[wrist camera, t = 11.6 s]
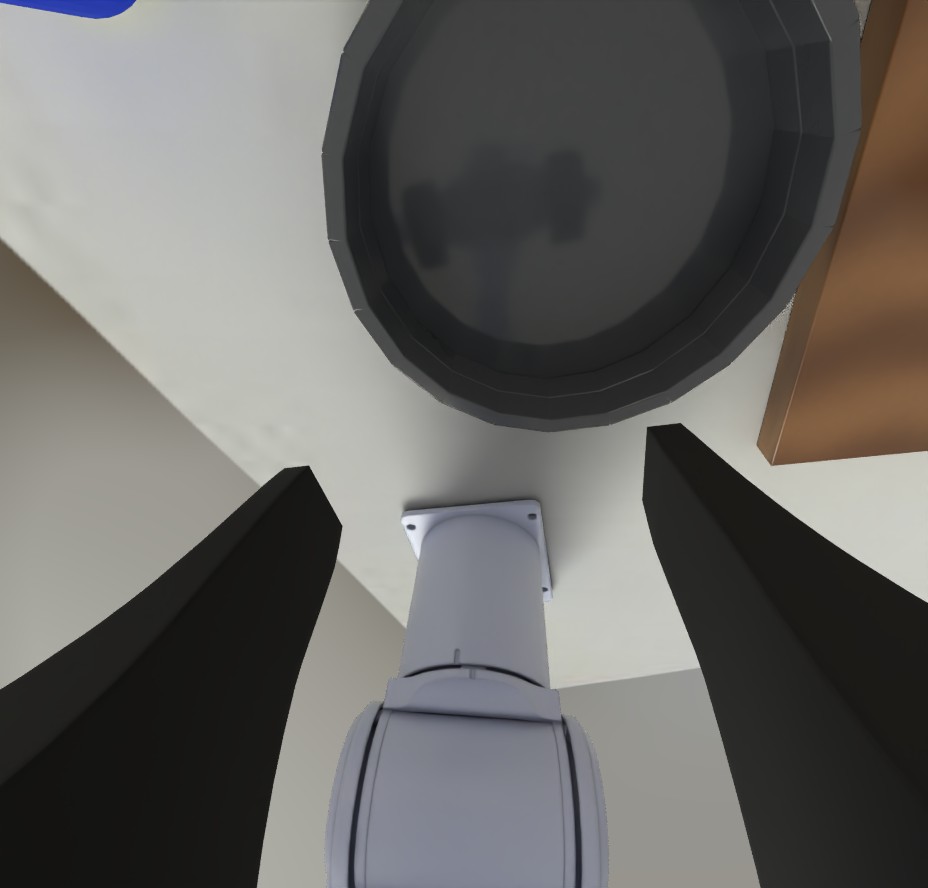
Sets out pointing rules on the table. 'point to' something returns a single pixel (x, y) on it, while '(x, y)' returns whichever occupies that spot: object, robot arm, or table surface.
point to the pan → (584, 190)
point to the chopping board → (866, 275)
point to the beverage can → (77, 6)
